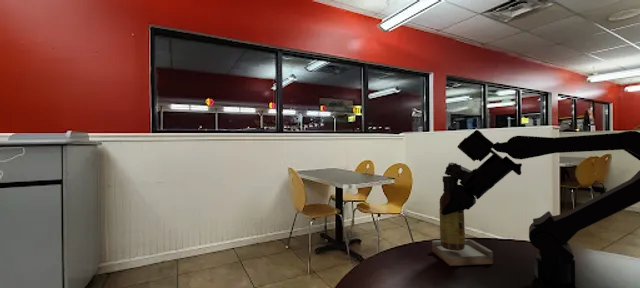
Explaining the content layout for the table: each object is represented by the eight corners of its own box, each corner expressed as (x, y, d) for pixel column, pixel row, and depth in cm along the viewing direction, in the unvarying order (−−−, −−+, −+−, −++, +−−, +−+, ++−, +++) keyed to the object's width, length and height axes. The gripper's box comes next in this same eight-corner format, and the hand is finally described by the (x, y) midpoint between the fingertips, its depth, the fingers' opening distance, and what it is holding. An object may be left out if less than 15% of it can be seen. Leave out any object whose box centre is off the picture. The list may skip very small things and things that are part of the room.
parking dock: (470, 249, 85) (470, 238, 85) (492, 263, 75) (492, 251, 75) (432, 251, 84) (432, 240, 84) (450, 265, 74) (450, 253, 74)
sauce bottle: (465, 253, 74) (463, 177, 74) (439, 249, 76) (437, 176, 77) (465, 245, 79) (462, 175, 80) (441, 242, 82) (439, 175, 83)
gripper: (469, 151, 84) (432, 186, 90) (456, 154, 69) (413, 195, 75) (501, 178, 79) (460, 213, 85) (494, 187, 64) (445, 228, 71)
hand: (445, 211), depth 79 cm, fingers closed on sauce bottle, 6 cm apart
